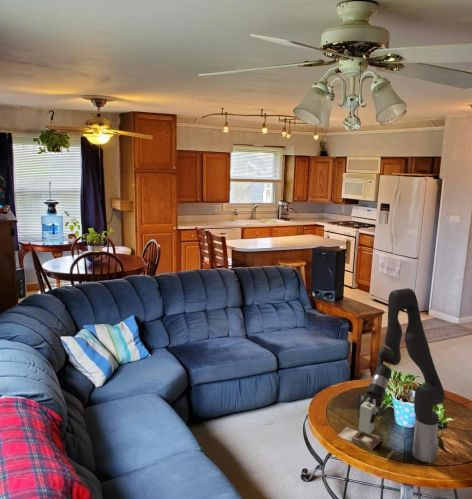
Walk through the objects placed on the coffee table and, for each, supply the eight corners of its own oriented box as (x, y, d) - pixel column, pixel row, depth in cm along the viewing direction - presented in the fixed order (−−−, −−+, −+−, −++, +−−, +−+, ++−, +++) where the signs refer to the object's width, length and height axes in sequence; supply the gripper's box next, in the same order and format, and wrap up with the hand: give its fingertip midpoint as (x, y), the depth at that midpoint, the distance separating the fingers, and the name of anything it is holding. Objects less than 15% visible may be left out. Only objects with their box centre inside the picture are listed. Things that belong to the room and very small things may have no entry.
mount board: (380, 442, 208) (380, 436, 207) (371, 452, 200) (371, 446, 200) (346, 429, 219) (346, 423, 218) (336, 438, 211) (337, 432, 211)
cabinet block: (373, 429, 207) (375, 402, 205) (369, 434, 203) (371, 406, 201) (363, 425, 210) (365, 399, 208) (358, 430, 206) (360, 403, 204)
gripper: (361, 378, 213) (348, 412, 206) (391, 388, 204) (378, 423, 197) (365, 385, 218) (352, 418, 211) (394, 395, 209) (382, 429, 202)
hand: (365, 420), depth 204 cm, fingers closed on cabinet block, 5 cm apart
